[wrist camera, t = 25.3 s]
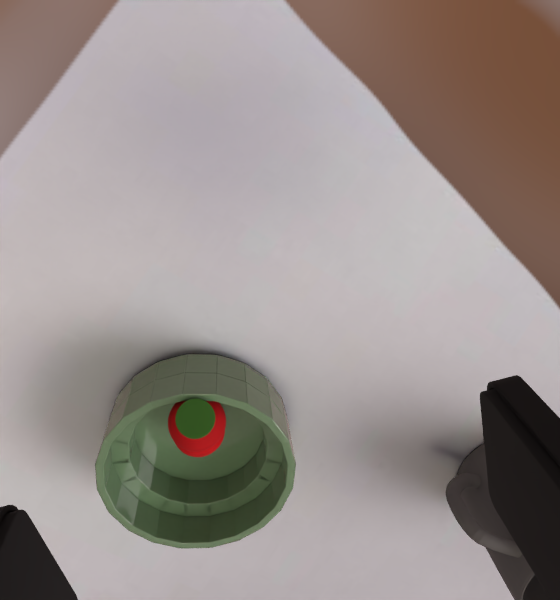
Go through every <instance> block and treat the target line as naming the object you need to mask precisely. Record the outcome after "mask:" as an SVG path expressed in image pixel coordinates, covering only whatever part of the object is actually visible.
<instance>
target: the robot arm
mask: <svg viewBox="0 0 560 600" xmlns="http://www.w3.org/2000/svg"><path fill="white" fill-rule="evenodd" d="M480 404H481V414H482V425H483V436H484V446H485V457H486V467H487V478H488V489H489V494H490V498H491V501H492V503H493V506H494V508H495V510H496V511H497V513H498V515H499V516H500V518H501V520H502V521H503V523H504V525H505V526H506V528H507V529H508V531H509V533H510V534H511V536H512V538H513V539H514V541H515V543H516V544H517V546H518V548H519V549H520V551H521V553H522V554H523V556H524V557H525V559H526V561H527V562H528V564H529V566H530V567H531V569H532V571H533V572H534V574H535V576H536V577H537V579H538V581H539V582H540V584H541V585H542V587H543V589H544V590H545V592H546V594H547V595H548V597H549V599H550V600H560V418H559V417H558V416H557V415H556V414H555V413H554V412H553V411H552V410H551V409H550V408H549V407H548V405H547V404H546V403H545V402H544V401H543V400H542V399H541V398H540V397H539V396H538V395H537V394H536V393H535V392H534V391H533V390H532V389H531V387H530V386H529V385H528V384H527V383H526V382H525V381H524V380H523V379H522V378H521V377H519V376H517V375H516V376H512V377H508V378H504V379H500V380H496V381H492V382H489V383H488V386H487V391H483V392H481V393H480ZM0 600H78V599H77V596H76V594H75V592H74V591H73V589H72V587H71V586H70V584H69V582H68V581H67V579H66V577H65V576H64V574H63V572H62V571H61V569H60V567H59V566H58V564H57V562H56V561H55V559H54V557H53V556H52V554H51V552H50V551H49V549H48V547H47V546H46V544H45V542H44V541H43V539H42V537H41V536H40V534H39V532H38V531H37V529H36V527H35V526H34V524H33V522H32V521H31V519H30V517H29V516H28V514H27V513H26V511H24V510H18V509H17V507H15V506H13V505H7V506H3V507H0Z"/></svg>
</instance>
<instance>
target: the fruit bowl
mask: <svg viewBox="0 0 560 600" xmlns="http://www.w3.org/2000/svg"><path fill="white" fill-rule="evenodd" d="M190 399H202V400H205V401H215V402H219V403H220V404H221V406H222V407H223V409H224V412H225V416H226V427H225V434H224V438H223V441H222V443H221V445H220V446H219V447H218V448H217V449H216V450H215V451H214V452H213V453H211V454H209V455H207V456H204V457H192V456H188V455H186V454H184V453H183V452H182V451H180V450H179V448H178V447H177V446H176V444H175V442H174V441H173V439H172V437H171V435H170V433H169V429H168V417H169V414H170V411H171V409H172V407H173V406H174V404H175V403H177V402H181V401H187V400H190ZM295 467H296V462H295V457H294V451H293V445H292V440H291V434H290V429H289V423H288V418H287V415H286V411H285V408H284V404H283V401H282V398H281V396H280V395H279V394H278V392H277V391H276V390H275V388H274V387H273V386H272V384H271V383H270V382H269V380H268V379H267V378H266V377H264V376H263V375H261V374H260V373H258V372H257V371H255V370H254V369H252V368H251V367H249V366H248V365H247V364H244V363H242V362H239V361H236V360H233V359H229V358H226V357H223V356H220V355H213V354H186V355H182V356H178V357H174V358H170V359H166V360H162V361H159V362H157V363H155V364H154V365H152V366H150V367H149V368H147V369H145V370H144V371H142V372H140V373H139V374H137V375H135V376H134V377H133V378H132V379H131V381H130V382H129V383H128V384H127V385H126V387H125V388H124V389H123V390H122V391H121V392H120V394H119V395H118V397H117V399H116V402H115V405H114V408H113V410H112V413H111V416H110V419H109V422H108V425H107V428H106V432H105V435H104V438H103V441H102V444H101V447H100V450H99V453H98V457H97V460H96V463H95V470H96V484H97V490H98V492H99V494H100V496H101V498H102V500H103V502H104V504H105V506H106V508H107V510H108V512H109V513H110V514H111V515H112V516H113V517H114V518H115V519H117V520H118V521H119V522H120V523H121V524H122V525H123V526H124V527H125V528H126V529H127V530H129V531H131V532H133V533H135V534H137V535H139V536H141V537H143V538H145V539H147V540H149V541H151V542H153V543H158V544H162V545H167V546H172V547H177V548H210V547H211V548H212V547H216V546H220V545H223V544H227V543H231V542H235V541H238V540H241V539H242V538H244V537H246V536H248V535H250V534H252V533H254V532H256V531H257V530H259V529H261V528H263V527H264V526H265V525H266V524H267V523H268V522H269V521H270V520H271V519H272V518H273V517H274V516H276V515H277V514H278V513H279V512H280V511H281V509H282V508H283V506H284V504H285V502H286V500H287V498H288V496H289V494H290V492H291V491H292V489H293V484H294V475H295Z"/></svg>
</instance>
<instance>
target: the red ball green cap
mask: <svg viewBox="0 0 560 600" xmlns="http://www.w3.org/2000/svg"><path fill="white" fill-rule="evenodd" d="M224 434H225V431H224V433H223V435H222V437H221V439H220V440H219V441H218V442H217V443H216V444H215V445H214V446H213V447H211V448H209V449H207V450H204V451H200V452H192V451H188V450H185V449H183V448H181V447H180V446H178V445H177V444H176V443H175V444H176V446H177V447H178V448H179V450H180V451H182V452H183V453H184V454H186V455H188V456H192V457H204V456H207V455H209V454H211V453H213V452H214V451H215V450H216V449H217V448H218V447H219V446H220V445H221V443H222V441H223V438H224Z"/></svg>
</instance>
